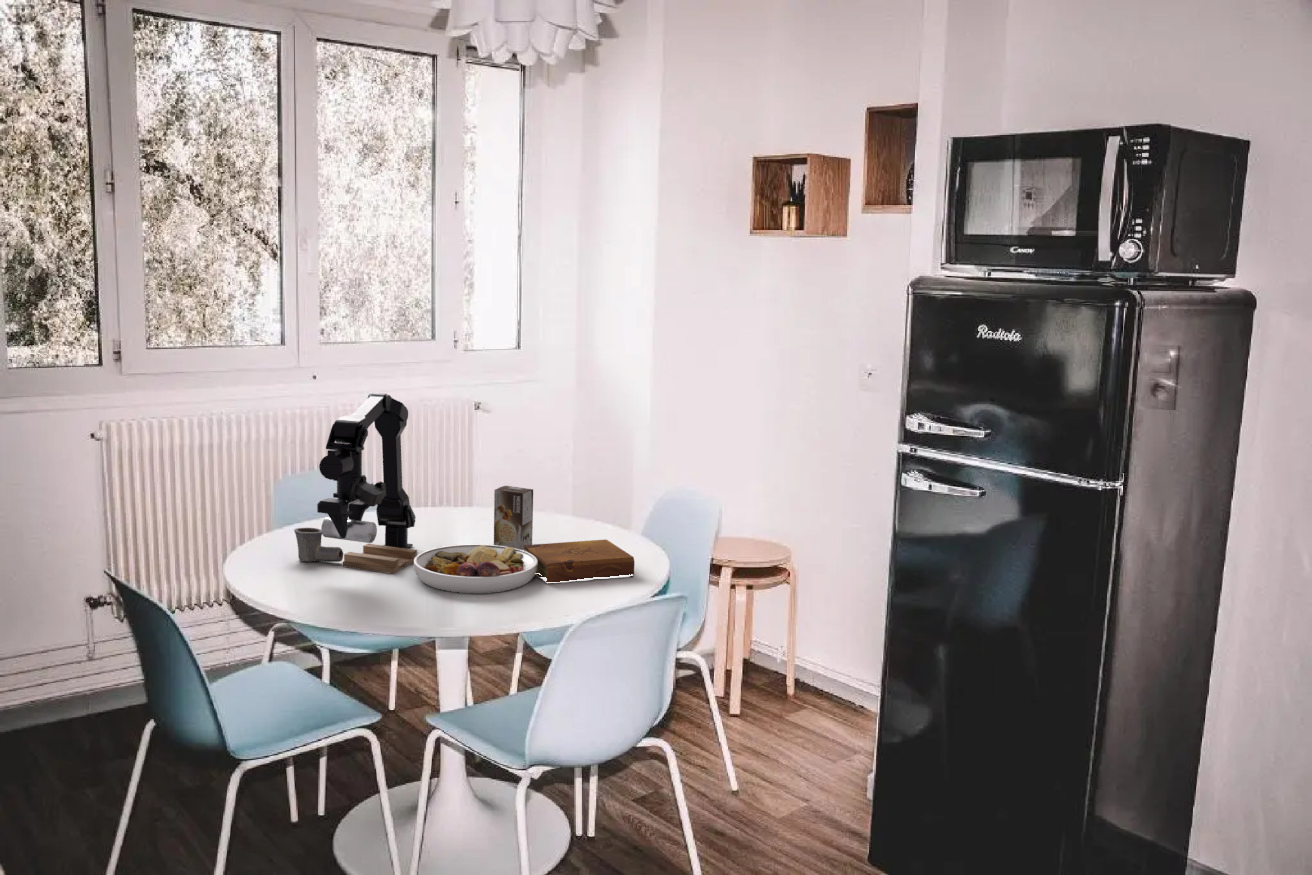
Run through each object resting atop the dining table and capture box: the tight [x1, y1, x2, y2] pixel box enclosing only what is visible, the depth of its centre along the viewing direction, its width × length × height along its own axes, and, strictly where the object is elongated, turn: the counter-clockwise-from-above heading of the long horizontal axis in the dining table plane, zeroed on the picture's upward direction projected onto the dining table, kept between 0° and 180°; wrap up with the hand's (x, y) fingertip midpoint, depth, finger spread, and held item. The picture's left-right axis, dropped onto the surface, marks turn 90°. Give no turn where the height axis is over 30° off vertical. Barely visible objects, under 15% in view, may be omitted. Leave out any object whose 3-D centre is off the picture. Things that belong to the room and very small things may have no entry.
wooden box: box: [524, 539, 635, 582], centre depth 301 cm, size 23×19×6 cm
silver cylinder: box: [320, 516, 378, 544], centre depth 283 cm, size 5×12×5 cm, turn 73°
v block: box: [342, 543, 418, 575], centre depth 299 cm, size 13×14×3 cm
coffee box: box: [493, 485, 534, 551], centre depth 320 cm, size 9×6×16 cm
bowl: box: [413, 543, 538, 594], centre depth 290 cm, size 30×30×8 cm
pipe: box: [293, 527, 344, 563], centre depth 298 cm, size 6×13×8 cm, turn 78°
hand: (349, 535), depth 283 cm, fingers closed on silver cylinder, 5 cm apart
